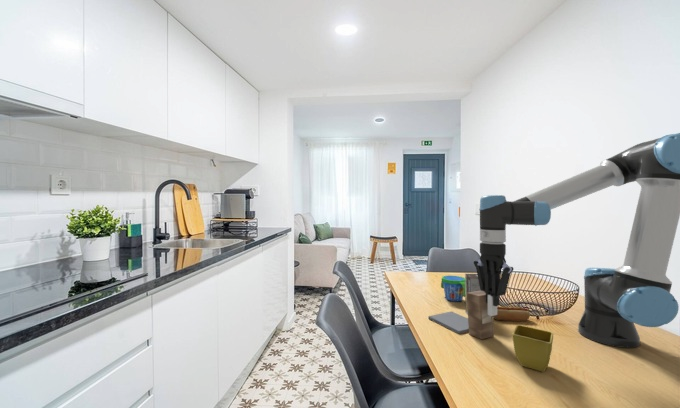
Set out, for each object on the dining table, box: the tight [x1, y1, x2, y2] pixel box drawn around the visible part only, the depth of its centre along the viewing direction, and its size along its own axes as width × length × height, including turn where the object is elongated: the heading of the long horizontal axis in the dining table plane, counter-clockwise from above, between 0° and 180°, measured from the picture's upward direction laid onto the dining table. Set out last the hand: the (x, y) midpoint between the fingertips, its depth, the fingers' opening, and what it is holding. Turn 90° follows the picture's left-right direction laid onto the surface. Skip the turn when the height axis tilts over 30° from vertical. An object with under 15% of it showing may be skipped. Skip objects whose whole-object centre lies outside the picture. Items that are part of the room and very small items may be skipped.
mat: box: [428, 310, 469, 335], centre depth 109 cm, size 15×12×1 cm
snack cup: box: [440, 275, 465, 302], centre depth 137 cm, size 16×10×10 cm
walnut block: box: [467, 291, 495, 340], centre depth 100 cm, size 5×6×14 cm
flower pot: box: [512, 324, 554, 372], centre depth 81 cm, size 9×9×9 cm
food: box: [493, 305, 531, 322], centre depth 113 cm, size 14×6×5 cm, turn 83°
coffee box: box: [464, 273, 484, 316], centre depth 116 cm, size 9×6×16 cm
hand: (492, 314), depth 95 cm, fingers closed
